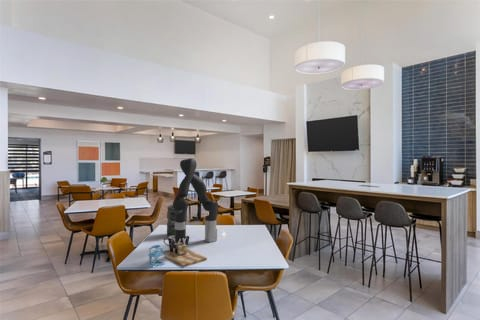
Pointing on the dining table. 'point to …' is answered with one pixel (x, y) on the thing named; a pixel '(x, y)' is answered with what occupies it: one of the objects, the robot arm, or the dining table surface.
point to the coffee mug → (170, 242)
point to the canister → (171, 220)
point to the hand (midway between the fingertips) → (180, 252)
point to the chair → (155, 255)
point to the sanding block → (181, 249)
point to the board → (186, 258)
